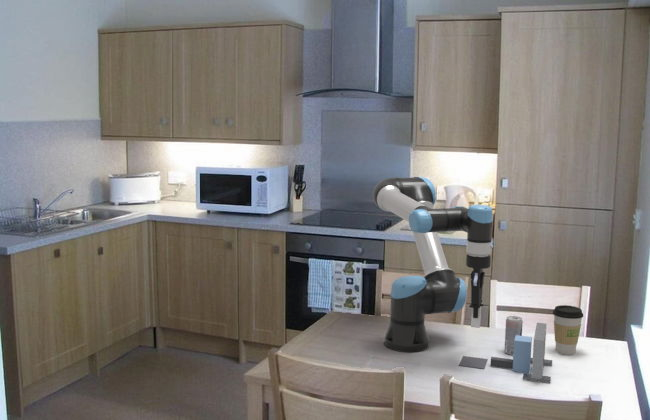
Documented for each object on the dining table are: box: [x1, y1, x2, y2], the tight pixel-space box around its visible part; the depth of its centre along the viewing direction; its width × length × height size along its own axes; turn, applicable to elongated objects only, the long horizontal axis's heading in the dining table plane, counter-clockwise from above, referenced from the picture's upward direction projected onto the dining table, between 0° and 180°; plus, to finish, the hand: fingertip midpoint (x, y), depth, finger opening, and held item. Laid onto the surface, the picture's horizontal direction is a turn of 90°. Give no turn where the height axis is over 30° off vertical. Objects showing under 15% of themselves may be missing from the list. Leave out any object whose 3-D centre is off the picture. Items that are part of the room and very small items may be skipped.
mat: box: [458, 355, 489, 370], centre depth 231 cm, size 8×9×1 cm
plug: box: [489, 335, 533, 374], centre depth 226 cm, size 12×6×10 cm, turn 71°
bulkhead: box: [522, 322, 553, 384], centre depth 223 cm, size 8×18×13 cm, turn 161°
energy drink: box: [504, 315, 524, 356], centre depth 240 cm, size 5×5×12 cm
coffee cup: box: [552, 304, 584, 356], centre depth 241 cm, size 10×10×15 cm
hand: (475, 326), depth 229 cm, fingers closed
